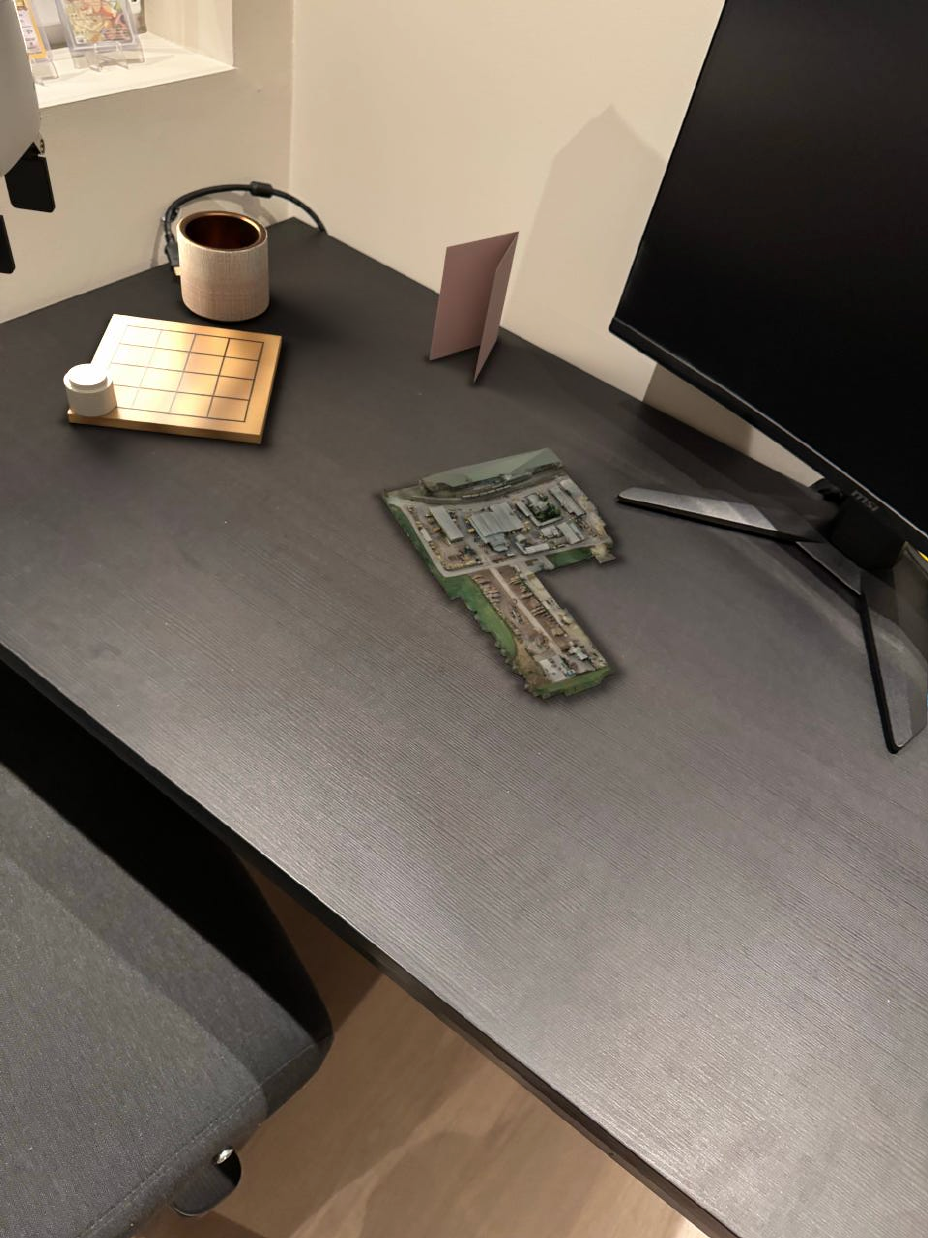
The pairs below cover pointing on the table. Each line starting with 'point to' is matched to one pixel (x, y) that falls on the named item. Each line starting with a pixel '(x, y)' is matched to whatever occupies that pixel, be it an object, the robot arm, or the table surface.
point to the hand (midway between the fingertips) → (14, 237)
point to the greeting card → (473, 296)
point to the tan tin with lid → (90, 390)
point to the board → (187, 379)
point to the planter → (223, 265)
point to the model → (512, 558)
